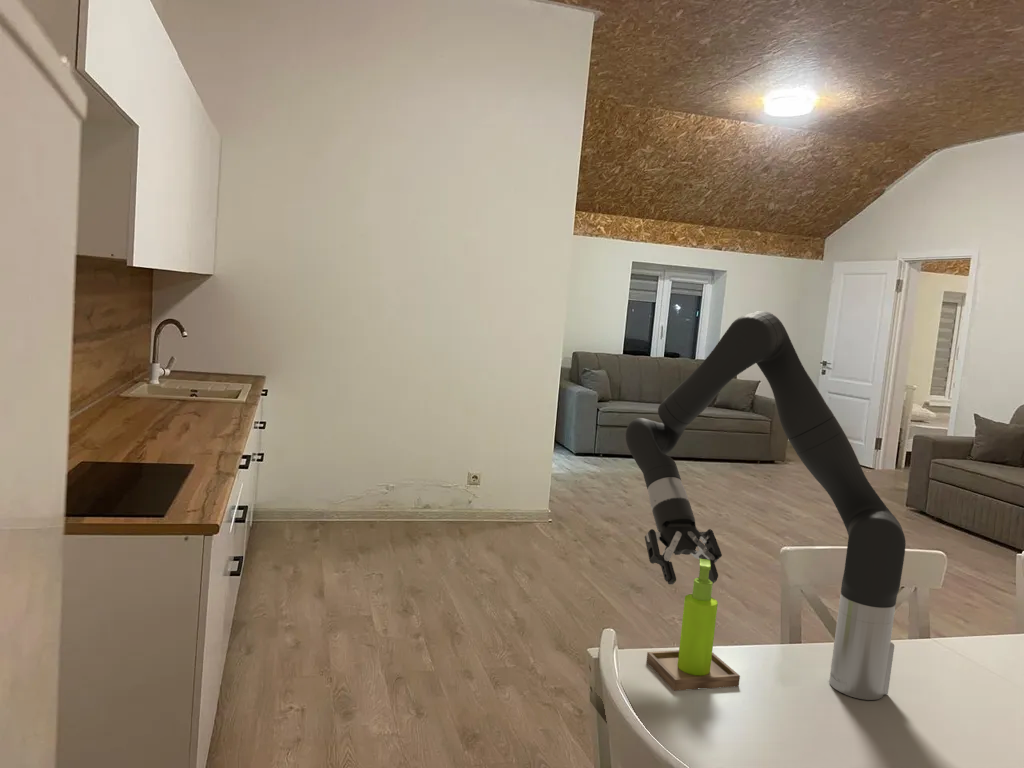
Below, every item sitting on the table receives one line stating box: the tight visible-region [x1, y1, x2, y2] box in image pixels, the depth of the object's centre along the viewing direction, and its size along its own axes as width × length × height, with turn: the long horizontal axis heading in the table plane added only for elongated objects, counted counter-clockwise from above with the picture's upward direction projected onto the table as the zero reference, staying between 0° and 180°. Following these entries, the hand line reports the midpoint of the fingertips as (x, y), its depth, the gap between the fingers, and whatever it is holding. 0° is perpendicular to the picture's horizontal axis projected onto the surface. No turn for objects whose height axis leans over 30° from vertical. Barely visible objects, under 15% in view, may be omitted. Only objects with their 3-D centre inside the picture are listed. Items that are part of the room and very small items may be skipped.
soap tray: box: [646, 649, 741, 692], centre depth 145 cm, size 13×11×2 cm
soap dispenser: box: [678, 558, 719, 676], centre depth 144 cm, size 6×7×20 cm
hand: (693, 582), depth 146 cm, fingers open, 8 cm apart
